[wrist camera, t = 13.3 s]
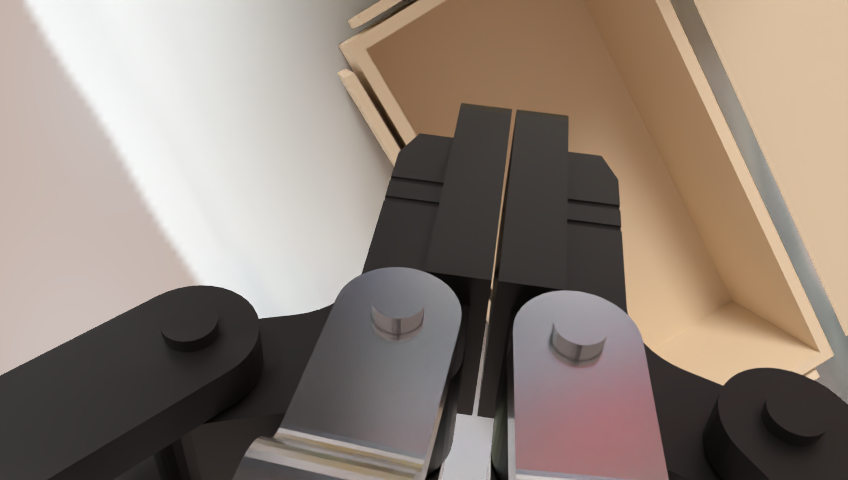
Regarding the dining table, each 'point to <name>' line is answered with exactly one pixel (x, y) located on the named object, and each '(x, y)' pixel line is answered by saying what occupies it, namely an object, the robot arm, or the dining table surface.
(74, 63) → the dining table surface
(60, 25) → the dining table surface
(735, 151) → the carton
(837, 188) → the flap
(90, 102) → the dining table surface
